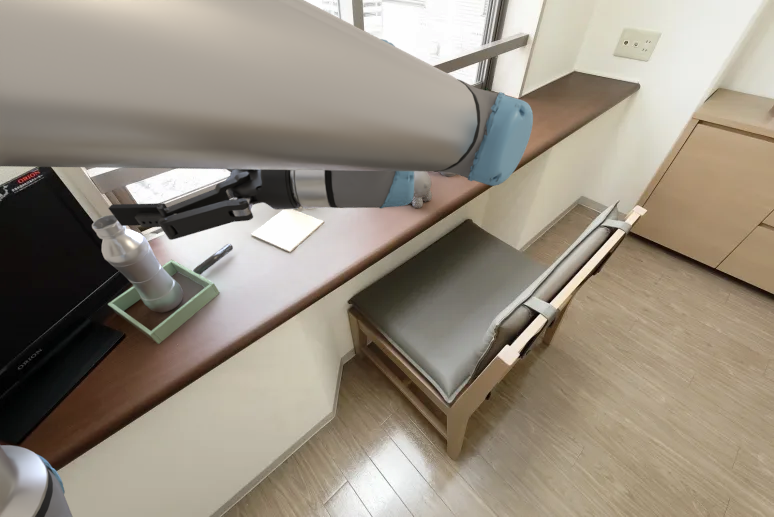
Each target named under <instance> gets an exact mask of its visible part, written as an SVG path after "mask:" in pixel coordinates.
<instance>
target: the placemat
mask: <svg viewBox="0 0 774 517" xmlns="http://www.w3.org/2000/svg"><path fill="white" fill-rule="evenodd" d="M324 223H325V221H324V220H322V219H320V218H317V217H314V216H312V215H309V214H307V213H303V212H301V211H298V210H297V209H281V211H279V212H278V213H276V214H275V215H274V216H273V217H271V218H270V219H269V220H267V221H266V222H265V223H264V224H263V225H261V226H259V228H256V230H255V231H253V232H252V233H251V234H250V235H251V236H252V237H254V238H256V239H259V240H261V241H263V242H264V243H265V242H266V243H267V244H270V245H272V246H274V247H276V248H279V249H280V250H283V251H285V252H288V253H292V251H294V250H295V249H296V248H298V247H299V245H301V244H302V243H303V242H304V241H305V240H306V239H307V238H308V237H310V236H311V235H312V234H313V233H314V232H315V231H316V230H318V228H320V227H321V226H323V224H324Z"/></svg>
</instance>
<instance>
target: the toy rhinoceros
mask: <svg viewBox="0 0 774 517" xmlns="http://www.w3.org/2000/svg"><path fill="white" fill-rule="evenodd" d="M431 188H432V179H431V177H430V175H429V173H428V171H414V196H413V200H412V201H411V203H410V204H412V207H413V208H415V209H420V208H422V207H423V205H424V202H430V201H431V200H432V197H433V194H432V191H431Z"/></svg>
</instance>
